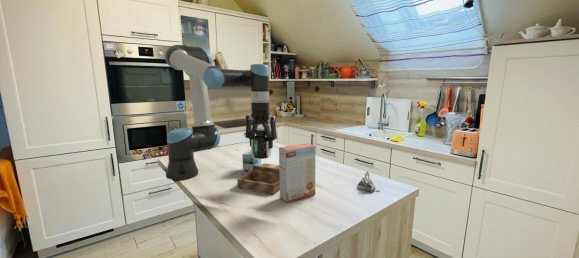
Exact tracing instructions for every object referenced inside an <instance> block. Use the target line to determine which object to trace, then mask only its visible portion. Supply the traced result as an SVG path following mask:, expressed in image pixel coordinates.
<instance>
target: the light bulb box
mask: <svg viewBox="0 0 579 258" xmlns="http://www.w3.org/2000/svg"><path fill="white" fill-rule="evenodd" d="M241 155H242V175H243V176H245V175H246V174H248V173H250V172H251V170H252V169H253V166H259V165H261V164H262V159H257V158H255V157H254V155H251V149H249V150H247V151H245V152H244V153H242V154H241Z"/></svg>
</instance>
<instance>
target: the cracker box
mask: <svg viewBox="0 0 579 258" xmlns="http://www.w3.org/2000/svg"><path fill="white" fill-rule="evenodd" d="M278 163H279V164H278V165H279V177H280V190H279V198H280V199H281V200H282V201H284V202H285V203H290V202H294V201H298V200H301V199H302V200H303V199H305V198H309V197H312V196H316V145H314V144H311V143H302V144H294V145H289V146H288V145H287V146H282V147H281V146H280V147H278Z"/></svg>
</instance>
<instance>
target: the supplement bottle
mask: <svg viewBox="0 0 579 258" xmlns="http://www.w3.org/2000/svg"><path fill="white" fill-rule="evenodd" d="M266 141H268V138H267V135H266V132H265V129H264V128H257V130H256V134H255V137H254V157H255V158H257V159H261V160H262V159H268V158H269V157H270V156H268V157H267V144H266Z"/></svg>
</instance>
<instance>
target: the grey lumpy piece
mask: <svg viewBox="0 0 579 258" xmlns="http://www.w3.org/2000/svg"><path fill="white" fill-rule="evenodd" d="M356 187H357V188H358V189H361V190H365V191H369V192H374V191H376V192H378V191H380V189H379V188H377V187H376V185H375V183H374V182H373V181H372V179H371V178H370V173H369V171H366V172H365V173H364V177H362V178H361V180H359V182H358V183H357V185H356ZM376 188H377V189H376Z"/></svg>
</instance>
